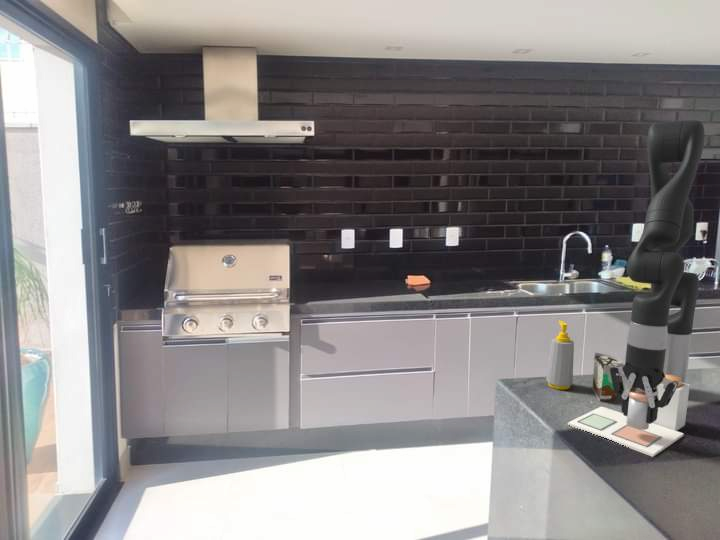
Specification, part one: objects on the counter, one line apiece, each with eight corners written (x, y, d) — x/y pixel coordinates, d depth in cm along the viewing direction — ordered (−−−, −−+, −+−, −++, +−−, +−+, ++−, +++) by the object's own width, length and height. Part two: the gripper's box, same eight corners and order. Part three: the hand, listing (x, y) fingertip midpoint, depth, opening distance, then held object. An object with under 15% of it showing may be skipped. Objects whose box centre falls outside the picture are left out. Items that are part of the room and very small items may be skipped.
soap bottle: (566, 381, 158) (571, 320, 155) (576, 390, 151) (582, 326, 149) (542, 381, 158) (547, 319, 155) (551, 390, 151) (556, 326, 148)
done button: (664, 383, 133) (665, 373, 132) (683, 388, 130) (684, 378, 129) (657, 386, 130) (658, 376, 130) (676, 392, 127) (677, 381, 127)
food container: (626, 406, 142) (630, 368, 140) (600, 403, 143) (604, 366, 141) (614, 389, 154) (618, 354, 152) (591, 386, 155) (594, 352, 153)
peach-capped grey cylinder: (631, 419, 126) (635, 387, 125) (652, 426, 122) (656, 393, 121) (622, 424, 123) (625, 391, 122) (643, 431, 119) (647, 398, 118)
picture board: (600, 408, 139) (601, 405, 139) (683, 435, 125) (683, 432, 125) (567, 425, 129) (567, 422, 129) (653, 456, 115) (653, 453, 115)
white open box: (657, 416, 135) (662, 377, 134) (684, 425, 131) (689, 384, 129) (647, 423, 132) (651, 382, 130) (674, 432, 127) (679, 390, 125)
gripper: (689, 348, 117) (679, 425, 120) (621, 333, 128) (614, 404, 130) (675, 354, 112) (665, 434, 115) (605, 338, 123) (598, 412, 125)
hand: (638, 418), depth 122 cm, fingers closed on peach-capped grey cylinder, 4 cm apart
